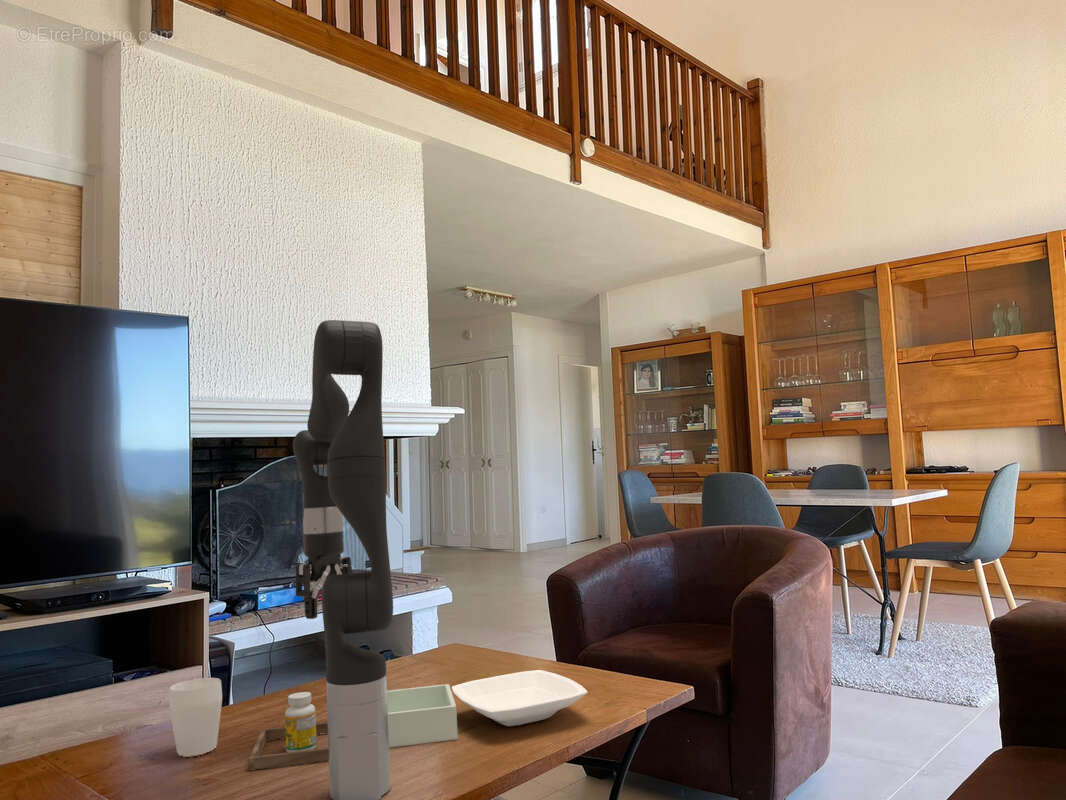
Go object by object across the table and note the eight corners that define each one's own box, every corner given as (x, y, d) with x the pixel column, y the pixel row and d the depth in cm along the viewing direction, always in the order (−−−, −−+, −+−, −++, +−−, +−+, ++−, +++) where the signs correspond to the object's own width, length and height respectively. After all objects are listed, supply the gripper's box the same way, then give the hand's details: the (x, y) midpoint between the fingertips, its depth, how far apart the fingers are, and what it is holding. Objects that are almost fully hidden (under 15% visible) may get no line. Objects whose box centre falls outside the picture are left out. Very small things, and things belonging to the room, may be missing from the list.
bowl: (442, 715, 157) (441, 686, 158) (546, 694, 168) (544, 667, 168) (486, 748, 137) (485, 714, 138) (600, 722, 148) (598, 691, 148)
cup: (165, 763, 138) (164, 693, 139) (174, 746, 147) (173, 681, 148) (220, 755, 141) (219, 687, 142) (226, 739, 149) (224, 675, 150)
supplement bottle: (319, 750, 141) (318, 695, 141) (289, 757, 138) (287, 701, 139) (313, 742, 145) (311, 689, 146) (283, 748, 143) (281, 694, 144)
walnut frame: (343, 759, 136) (343, 747, 136) (249, 771, 133) (248, 758, 133) (347, 730, 151) (347, 719, 151) (262, 740, 148) (262, 729, 148)
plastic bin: (457, 739, 142) (456, 706, 143) (370, 749, 139) (368, 716, 140) (450, 713, 158) (448, 683, 158) (371, 722, 155) (369, 692, 155)
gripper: (315, 532, 147) (317, 621, 145) (360, 527, 160) (363, 608, 158) (283, 534, 150) (285, 621, 148) (330, 528, 163) (333, 608, 161)
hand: (326, 614), depth 153 cm, fingers open, 8 cm apart
